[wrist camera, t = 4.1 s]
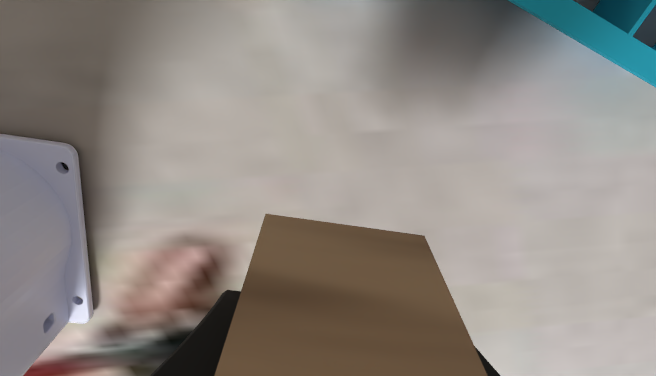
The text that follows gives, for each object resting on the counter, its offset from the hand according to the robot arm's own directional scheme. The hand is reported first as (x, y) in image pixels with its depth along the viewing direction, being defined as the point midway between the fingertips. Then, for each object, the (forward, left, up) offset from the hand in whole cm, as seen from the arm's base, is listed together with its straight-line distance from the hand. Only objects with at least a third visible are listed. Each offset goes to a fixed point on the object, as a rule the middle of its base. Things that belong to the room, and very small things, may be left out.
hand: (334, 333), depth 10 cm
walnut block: (0, 0, -2) cm, 2 cm away
